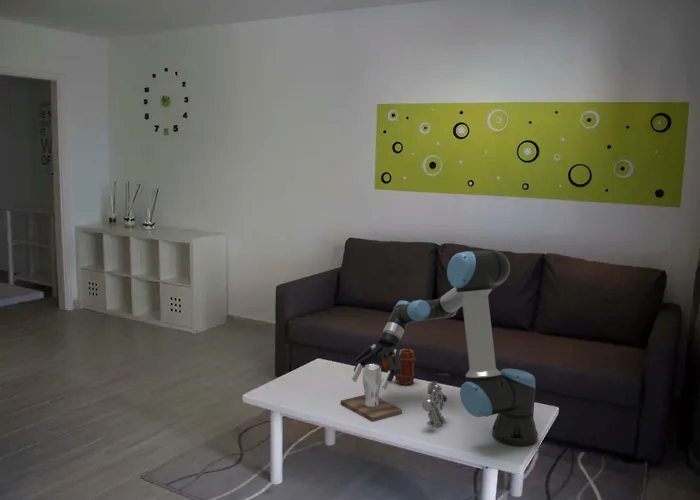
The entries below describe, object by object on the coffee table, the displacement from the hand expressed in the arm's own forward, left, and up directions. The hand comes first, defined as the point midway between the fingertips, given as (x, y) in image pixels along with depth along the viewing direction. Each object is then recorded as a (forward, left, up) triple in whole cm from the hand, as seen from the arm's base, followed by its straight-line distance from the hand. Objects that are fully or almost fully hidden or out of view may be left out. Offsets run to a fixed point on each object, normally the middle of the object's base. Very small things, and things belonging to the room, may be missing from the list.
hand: (368, 384), depth 239 cm
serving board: (+1, -2, -10) cm, 11 cm away
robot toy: (-23, -12, -11) cm, 28 cm away
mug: (+18, -30, -11) cm, 36 cm away
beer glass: (+1, -2, -9) cm, 9 cm away
